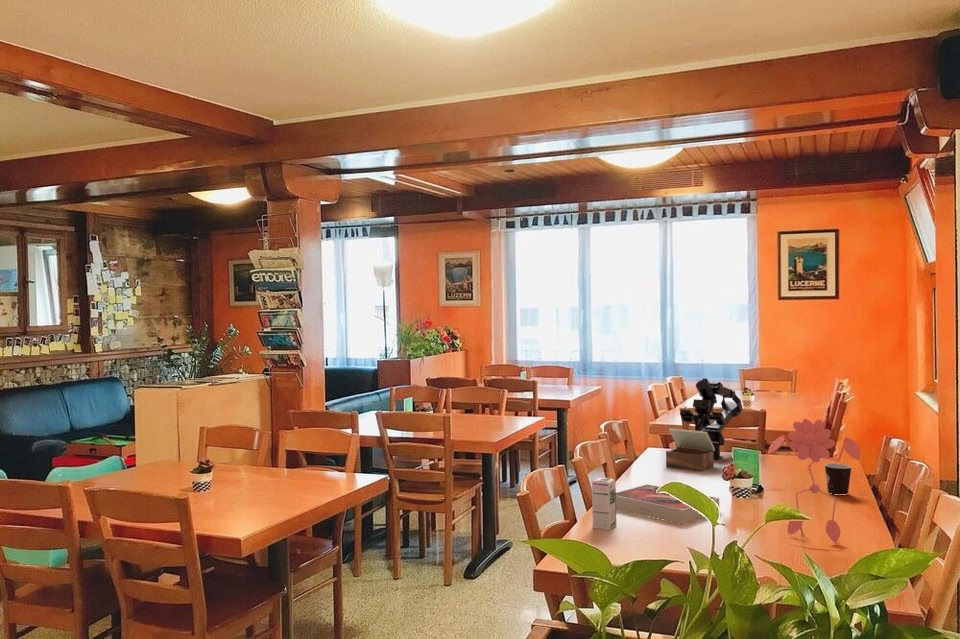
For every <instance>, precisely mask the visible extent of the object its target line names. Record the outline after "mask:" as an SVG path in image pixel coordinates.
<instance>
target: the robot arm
mask: <svg viewBox="0 0 960 639" xmlns="http://www.w3.org/2000/svg"><path fill="white" fill-rule="evenodd" d="M695 388H696V390H697V392H698V394H699V396H700V397H701V399H693V402H692V407H693V408H694V412H693V413H692V411H691V410H690V409H680V413H679V415H680V418H681V419H682V421H683V422H685V423H692V422H693V423H694V425H695V426H694V431H703V432H707V433H708V435H709V437H710V440H711V442H712V444H713V446H714V448H715V451H714V460H719V459H722V458H723V457H724V455H721V446H724V445H725V444H726V442H725V441H726V440H725V437H724V435H723V430H724V429H725V428H726V426H727V425H728V423H729V422H730V421H731V419H732V418H736V417H738V416H740V415H741V413H742V412H743V404H742V401H741V399H740V398H739V397H738V396H737V393H736V391H735V390H734V389H731V388H728V387H725V386H724V384H723V383H721V382H720V381H709V380H708V378H706V377H705V378H702V379H700V380H699V381H697V382H696V384H695ZM716 395H718V396H721V397H722V400H721V402H720V405H721V407H722V412H720V411H714V406H715V404H717V403H718V401H717V396H716ZM726 399H732V400H733V401H725V400H726ZM712 421H713V422H712ZM711 422H712V423H711ZM706 451H708V450H706Z"/></svg>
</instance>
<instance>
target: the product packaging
mask: <svg viewBox="0 0 960 639" xmlns="http://www.w3.org/2000/svg"><path fill="white" fill-rule="evenodd" d="M659 487H660V486H658V485H653V484H648V483H647V484H643V485H640V486H639V485H638V486H635V487H632V488H628V489H624V490H620V491H616V511H617V510H619V511H623V512H627V513H631V514H636V515H639V514H640V515H639V516H643V515H644V517H648V516H650V517H649V518H652V517H655V518H654V519H656V518H659V519H658V520H661V519H664V520H663V521H665V520H667V521H666V522H669V521H672V522H671V523H674V522H676V523H675V524H678V523H680V524H679V525H682V524H683V525H686V524H689V523H692V522H694V520H695V521H698V520H700V518H701V519H703V518H705V517H703V516H702V515H701V514H699V513H698V512H697V511H695V510H693V509H692V508H691V507H689V506H687V505H685V504H683V503H682V502H680V501H679V500H677V499H675V498H674V497H672V496H670V495H669V494H666V493H656V490H657V489H658V488H659ZM708 496H709V497H710V498H711V499H713V500H714V501H715V502H716V503H717V504H718V506H719V507H720V498H719V497H714V496H710V495H708ZM702 517H703V518H702ZM697 519H698V520H697ZM685 523H686V524H685Z"/></svg>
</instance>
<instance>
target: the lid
mask: <svg viewBox="0 0 960 639" xmlns="http://www.w3.org/2000/svg"><path fill="white" fill-rule="evenodd" d="M668 430H669V433H670V435H671V437H672V438H673V440H674V443H675V446H676V448H678V447H680V448H689V449H697V450H706V451H707V450H708V451H715V448H714V446H713V444H712V442H711V440H710V437H709V435H708V433H707V432H703V431H702V430H701V431H695V430H693V429H682V428H681V429H680V428H675V427H674V428H671V427H670V428H669V429H668Z"/></svg>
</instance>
